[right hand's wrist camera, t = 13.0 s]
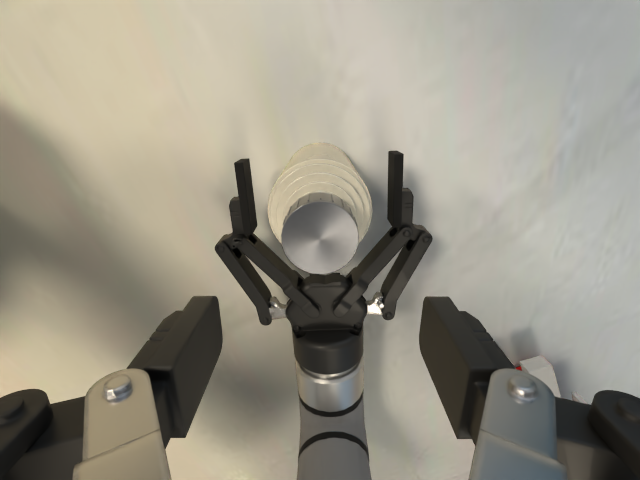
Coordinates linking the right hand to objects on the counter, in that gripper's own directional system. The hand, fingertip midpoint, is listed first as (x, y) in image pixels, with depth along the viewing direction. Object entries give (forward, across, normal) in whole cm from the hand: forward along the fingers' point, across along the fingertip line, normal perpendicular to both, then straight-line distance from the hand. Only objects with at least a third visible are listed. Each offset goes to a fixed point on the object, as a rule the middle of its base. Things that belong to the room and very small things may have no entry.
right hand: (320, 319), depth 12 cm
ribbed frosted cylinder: (+27, 0, 0) cm, 27 cm away
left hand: (+21, 0, -3) cm, 21 cm away
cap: (+8, 0, 0) cm, 8 cm away
